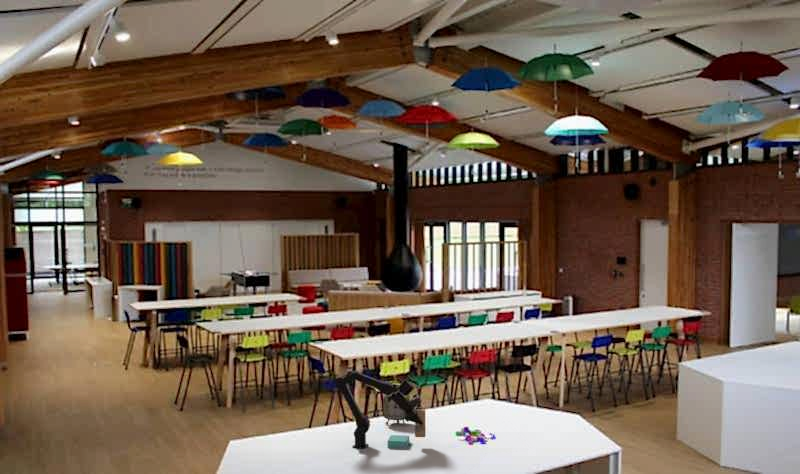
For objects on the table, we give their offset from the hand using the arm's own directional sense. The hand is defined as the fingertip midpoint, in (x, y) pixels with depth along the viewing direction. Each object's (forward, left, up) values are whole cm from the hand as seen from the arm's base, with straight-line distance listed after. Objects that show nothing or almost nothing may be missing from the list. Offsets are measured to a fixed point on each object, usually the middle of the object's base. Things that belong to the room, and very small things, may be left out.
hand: (422, 422), depth 353 cm
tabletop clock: (+34, +29, -13) cm, 46 cm away
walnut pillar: (-1, +1, -7) cm, 7 cm away
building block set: (+26, -21, -13) cm, 35 cm away
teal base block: (-1, +13, -13) cm, 19 cm away
